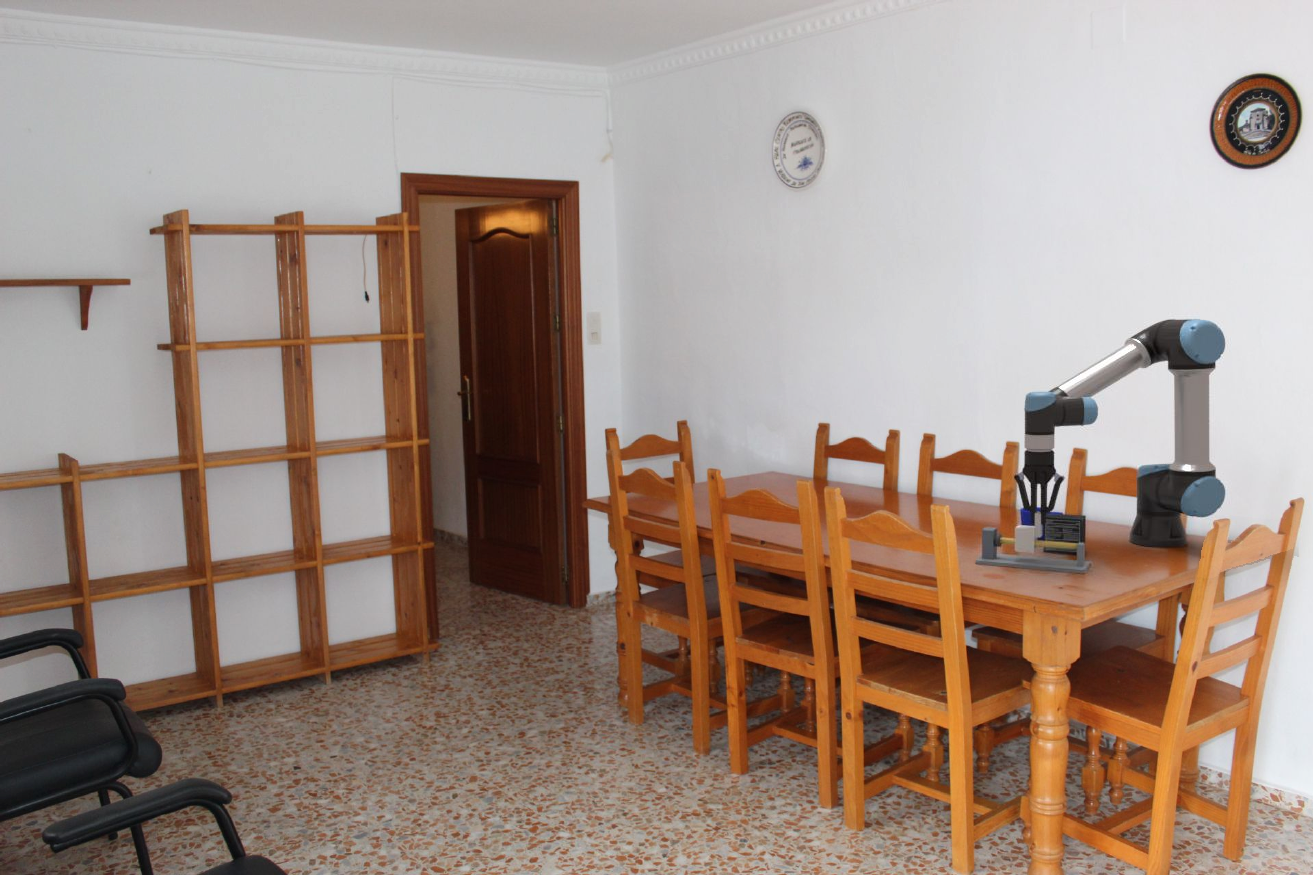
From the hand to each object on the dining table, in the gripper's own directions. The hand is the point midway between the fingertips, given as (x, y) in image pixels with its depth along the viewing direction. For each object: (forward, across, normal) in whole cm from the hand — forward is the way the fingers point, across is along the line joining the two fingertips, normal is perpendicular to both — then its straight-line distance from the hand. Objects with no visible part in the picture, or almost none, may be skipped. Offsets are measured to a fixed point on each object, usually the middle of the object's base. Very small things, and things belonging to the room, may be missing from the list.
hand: (1038, 536), depth 284 cm
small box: (+8, -4, -19) cm, 21 cm away
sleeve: (+4, +3, 0) cm, 5 cm away
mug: (+8, +4, -28) cm, 30 cm away
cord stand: (+8, +2, 0) cm, 8 cm away
